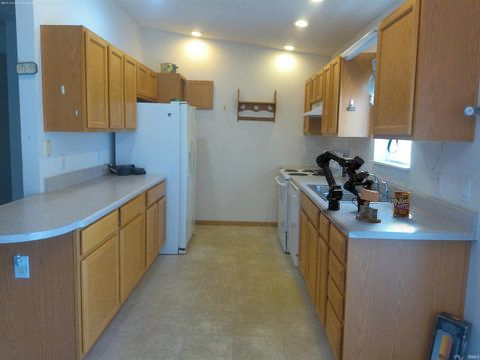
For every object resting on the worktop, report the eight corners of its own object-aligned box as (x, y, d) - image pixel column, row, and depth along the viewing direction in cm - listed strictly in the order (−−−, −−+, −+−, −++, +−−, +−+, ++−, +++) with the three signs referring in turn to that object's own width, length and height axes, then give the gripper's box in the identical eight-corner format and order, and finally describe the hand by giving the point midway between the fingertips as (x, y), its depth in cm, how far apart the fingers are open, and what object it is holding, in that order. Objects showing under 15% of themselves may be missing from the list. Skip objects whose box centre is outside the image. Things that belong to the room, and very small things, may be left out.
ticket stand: (355, 218, 226) (356, 205, 225) (364, 217, 229) (365, 204, 228) (370, 223, 214) (371, 209, 213) (380, 222, 217) (381, 209, 216)
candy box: (392, 216, 233) (394, 191, 232) (393, 214, 237) (395, 190, 235) (408, 217, 229) (410, 192, 227) (409, 216, 233) (411, 191, 231)
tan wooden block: (360, 198, 225) (360, 189, 224) (363, 198, 226) (364, 189, 225) (374, 202, 214) (375, 192, 213) (378, 201, 215) (378, 192, 214)
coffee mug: (369, 210, 251) (370, 194, 249) (370, 212, 242) (371, 197, 241) (351, 208, 254) (351, 193, 253) (351, 211, 246) (352, 195, 244)
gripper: (347, 166, 222) (358, 188, 214) (372, 166, 229) (385, 187, 221) (338, 178, 230) (348, 200, 222) (363, 177, 238) (374, 198, 229)
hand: (364, 196), depth 223 cm, fingers open, 9 cm apart
